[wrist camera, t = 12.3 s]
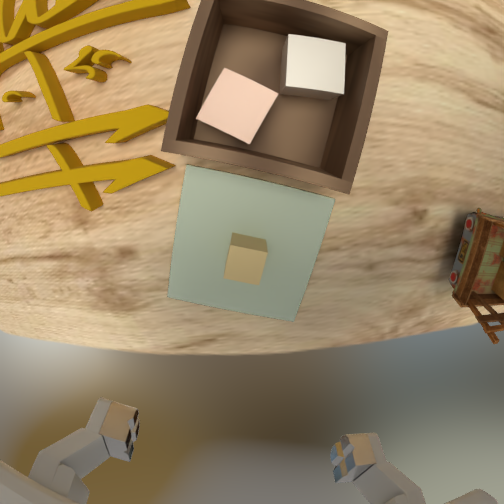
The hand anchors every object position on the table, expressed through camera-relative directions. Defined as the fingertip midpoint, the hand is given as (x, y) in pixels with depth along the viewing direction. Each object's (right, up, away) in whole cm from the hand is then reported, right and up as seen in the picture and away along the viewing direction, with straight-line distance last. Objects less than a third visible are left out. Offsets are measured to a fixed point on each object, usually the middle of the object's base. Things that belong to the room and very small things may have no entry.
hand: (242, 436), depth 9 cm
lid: (0, +7, +18) cm, 19 cm away
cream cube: (+5, +21, +10) cm, 24 cm away
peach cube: (-1, +18, +11) cm, 21 cm away
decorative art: (-20, +28, +9) cm, 35 cm away
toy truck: (+33, +8, +18) cm, 38 cm away
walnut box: (+2, +20, +12) cm, 23 cm away
